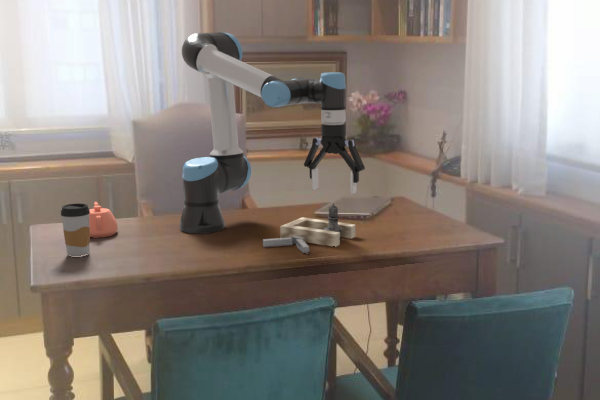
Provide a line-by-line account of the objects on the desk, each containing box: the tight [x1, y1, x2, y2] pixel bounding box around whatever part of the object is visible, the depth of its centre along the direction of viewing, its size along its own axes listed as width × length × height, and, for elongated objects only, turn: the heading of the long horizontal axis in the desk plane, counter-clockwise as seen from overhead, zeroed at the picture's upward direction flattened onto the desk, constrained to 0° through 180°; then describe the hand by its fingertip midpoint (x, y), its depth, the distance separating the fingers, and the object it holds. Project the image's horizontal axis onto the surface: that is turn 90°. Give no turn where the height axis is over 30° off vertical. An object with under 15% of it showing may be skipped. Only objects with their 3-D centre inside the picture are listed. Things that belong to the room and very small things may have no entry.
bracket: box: [279, 216, 356, 248], centre depth 239 cm, size 20×14×4 cm
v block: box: [262, 236, 310, 254], centre depth 229 cm, size 10×17×2 cm, turn 59°
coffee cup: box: [60, 202, 91, 256], centre depth 221 cm, size 8×8×15 cm
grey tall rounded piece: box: [324, 202, 342, 242], centre depth 235 cm, size 6×6×12 cm
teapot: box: [89, 201, 119, 239], centre depth 246 cm, size 12×18×10 cm
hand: (334, 191), depth 233 cm, fingers open, 13 cm apart
